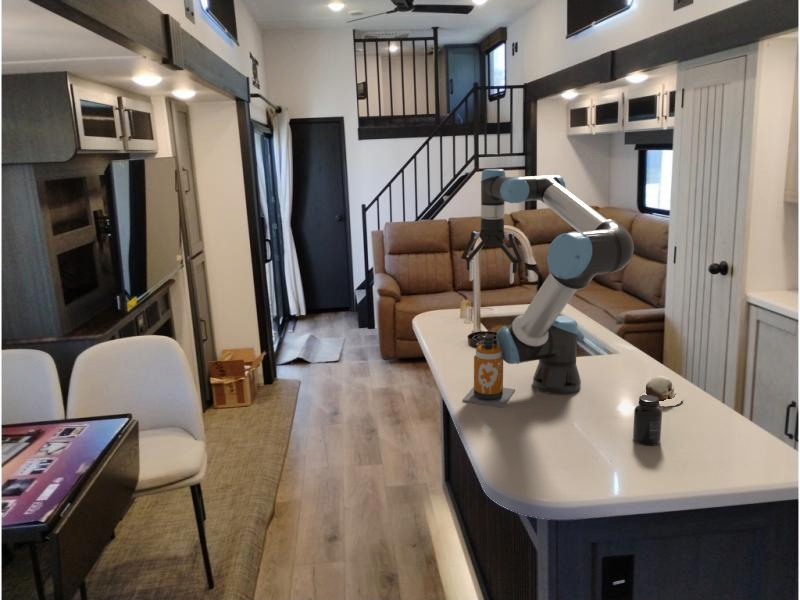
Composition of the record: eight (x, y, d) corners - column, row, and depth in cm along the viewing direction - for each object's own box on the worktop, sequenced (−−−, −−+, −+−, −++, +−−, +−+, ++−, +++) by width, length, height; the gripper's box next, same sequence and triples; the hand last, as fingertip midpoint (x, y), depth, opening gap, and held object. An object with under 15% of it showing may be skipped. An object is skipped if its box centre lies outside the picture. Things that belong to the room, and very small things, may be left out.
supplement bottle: (659, 436, 169) (662, 394, 166) (660, 447, 163) (664, 404, 160) (632, 433, 171) (635, 391, 168) (632, 444, 165) (635, 401, 162)
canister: (472, 400, 194) (472, 338, 189) (475, 386, 204) (475, 327, 199) (502, 402, 192) (503, 339, 187) (503, 388, 202) (504, 328, 197)
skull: (657, 384, 201) (677, 369, 193) (674, 414, 196) (696, 399, 188) (629, 390, 196) (648, 374, 188) (645, 420, 191) (666, 405, 183)
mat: (515, 390, 202) (515, 389, 201) (503, 407, 189) (503, 405, 189) (476, 385, 207) (476, 383, 207) (462, 401, 194) (462, 399, 194)
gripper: (533, 217, 203) (531, 281, 209) (458, 215, 212) (458, 276, 218) (529, 220, 197) (526, 286, 202) (452, 218, 205) (452, 281, 211)
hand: (491, 281), depth 210 cm, fingers open, 13 cm apart
